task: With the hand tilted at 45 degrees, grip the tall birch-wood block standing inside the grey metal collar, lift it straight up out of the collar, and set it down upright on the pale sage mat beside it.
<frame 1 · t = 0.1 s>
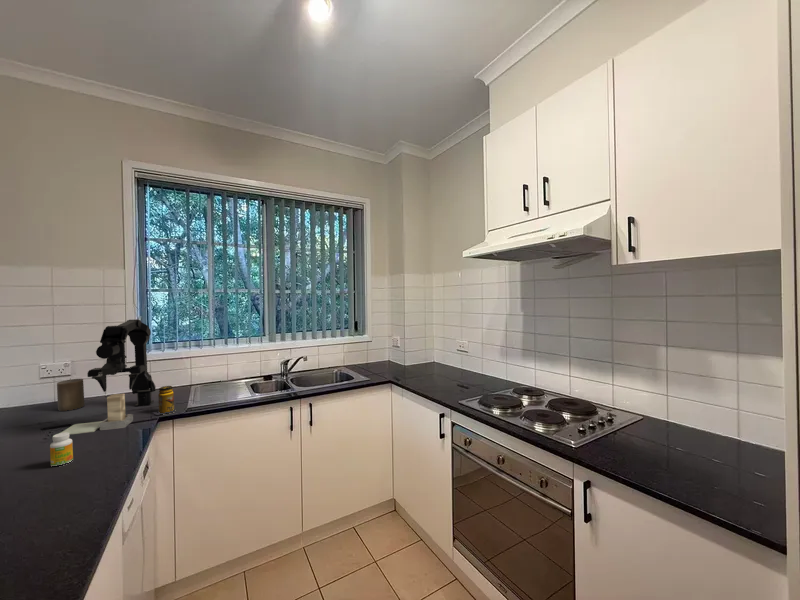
hand: (117, 390, 149), 15 cm above the worktop, tool pointing down, fingers open, 9 cm apart
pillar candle: (71, 408, 172), on the worktop
collar: (117, 425, 148), on the worktop
block: (116, 410, 148), in the collar
condiment: (164, 412, 164), on the worktop
supplement bottle: (62, 463, 115), on the worktop
mat: (83, 428, 145), on the worktop
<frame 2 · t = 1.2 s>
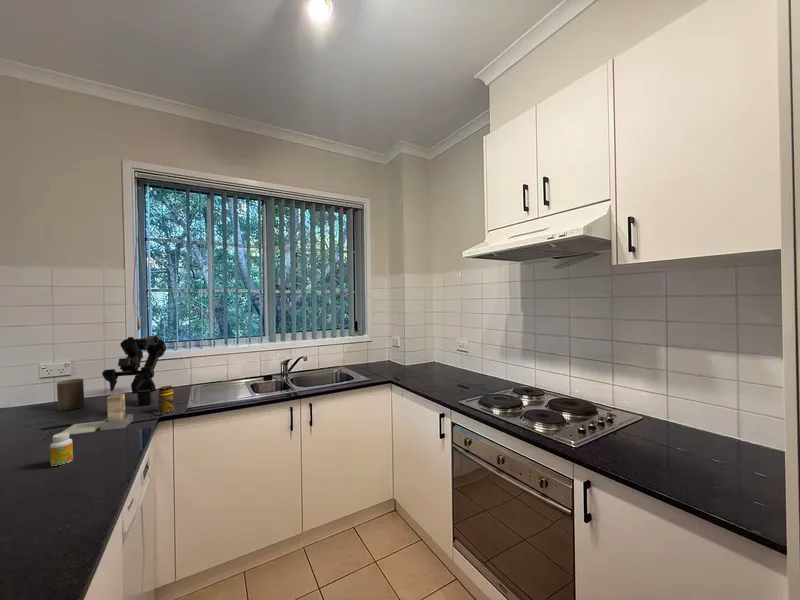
hand: (123, 389, 155), 13 cm above the worktop, tool tilted 45°, fingers open, 9 cm apart
nothing on the worktop moved.
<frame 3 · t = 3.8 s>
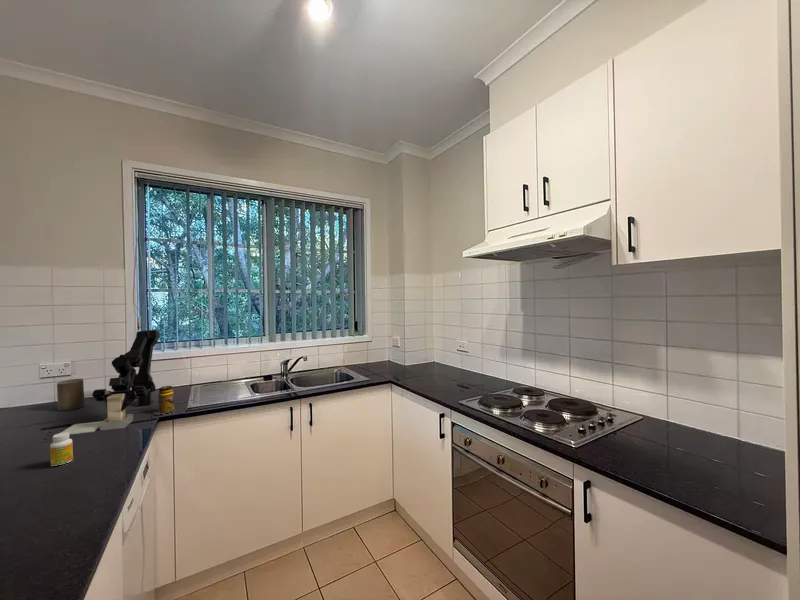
hand: (115, 411, 146), 7 cm above the worktop, tool tilted 45°, fingers closed on block, 4 cm apart
block: (116, 410, 148), in the collar, touching gripper
everything else where it was.
when the fingers open (8 cm above the worktop, at t = 8.5 s): block drops 1 cm, resting on mat.
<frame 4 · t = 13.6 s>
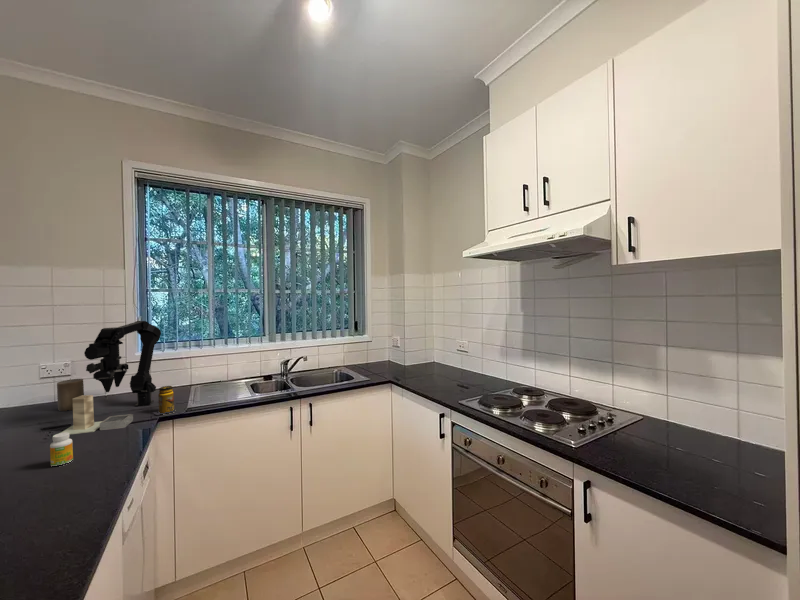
hand: (112, 389, 157), 13 cm above the worktop, tool pointing down, fingers open, 9 cm apart
block: (83, 412, 145), on the mat
everything else where it was.
at the end: block 0.0 cm off-centre on the mat, point 6.9 cm above the mat's base; block tilted 0°; the gripper is holding nothing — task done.
